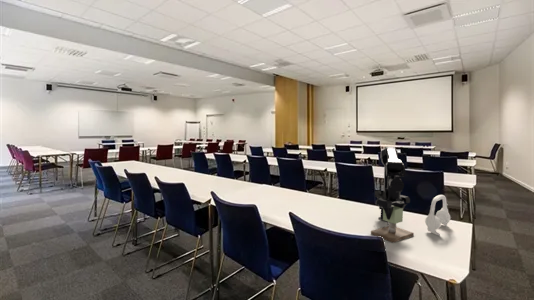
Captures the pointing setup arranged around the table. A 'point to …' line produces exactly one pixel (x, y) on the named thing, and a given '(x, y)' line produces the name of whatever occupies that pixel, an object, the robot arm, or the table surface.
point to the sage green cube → (394, 215)
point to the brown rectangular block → (392, 233)
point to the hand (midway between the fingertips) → (392, 218)
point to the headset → (437, 215)
